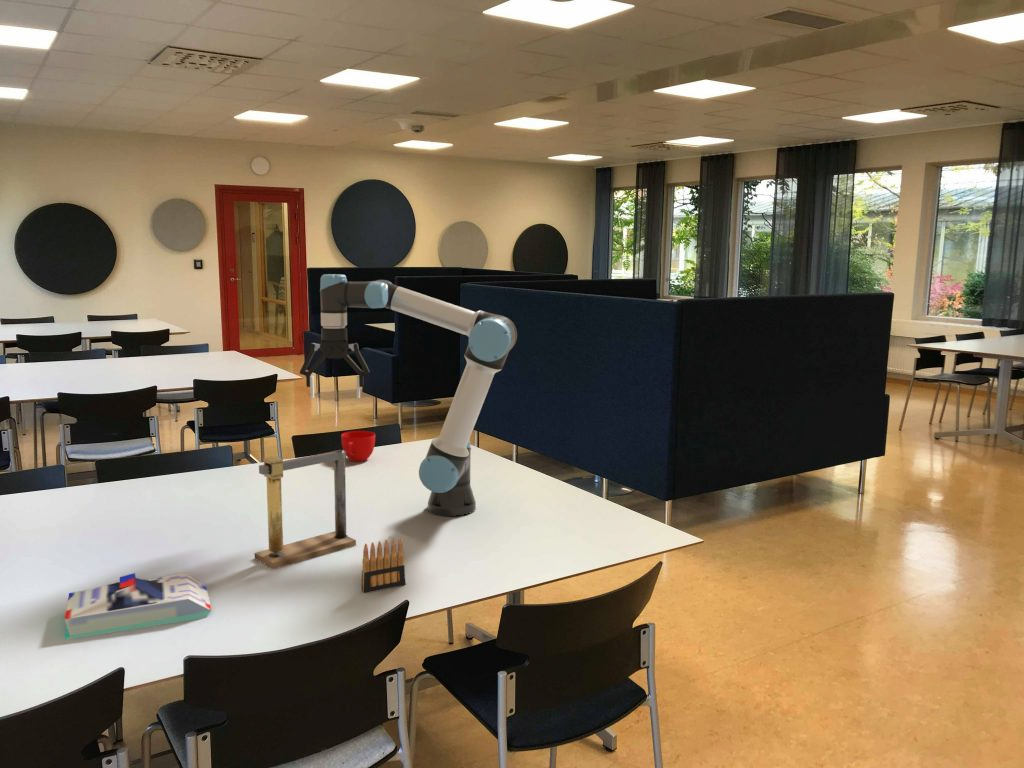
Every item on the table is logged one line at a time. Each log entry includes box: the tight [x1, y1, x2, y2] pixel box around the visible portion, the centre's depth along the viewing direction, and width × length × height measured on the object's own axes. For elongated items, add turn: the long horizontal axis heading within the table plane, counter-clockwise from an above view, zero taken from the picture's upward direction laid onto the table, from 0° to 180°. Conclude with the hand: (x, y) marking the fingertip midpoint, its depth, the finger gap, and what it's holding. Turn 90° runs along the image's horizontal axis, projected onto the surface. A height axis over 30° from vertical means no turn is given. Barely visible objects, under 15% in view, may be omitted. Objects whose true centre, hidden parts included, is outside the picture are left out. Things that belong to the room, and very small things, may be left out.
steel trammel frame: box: [258, 449, 347, 538], centre depth 218 cm, size 25×3×24 cm, turn 136°
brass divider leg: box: [263, 455, 284, 553], centre depth 212 cm, size 4×4×25 cm
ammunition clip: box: [360, 536, 406, 594], centre depth 197 cm, size 11×2×12 cm, turn 120°
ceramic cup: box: [340, 430, 376, 462], centre depth 315 cm, size 13×17×10 cm
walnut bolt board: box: [253, 530, 357, 570], centre depth 221 cm, size 25×10×2 cm, turn 136°
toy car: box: [63, 572, 212, 640], centre depth 182 cm, size 17×30×9 cm, turn 115°
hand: (335, 397), depth 245 cm, fingers open, 13 cm apart
